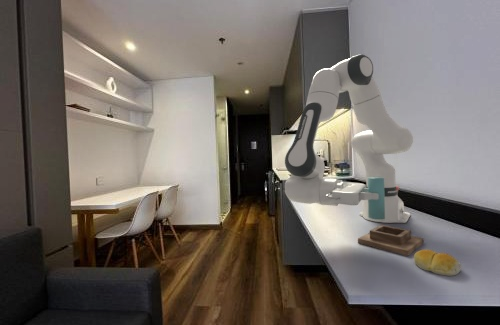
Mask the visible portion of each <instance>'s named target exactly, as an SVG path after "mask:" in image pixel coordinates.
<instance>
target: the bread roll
mask: <svg viewBox="0 0 500 325" xmlns="http://www.w3.org/2000/svg"><path fill="white" fill-rule="evenodd" d="M413 260H414V264H416V266H418V267H419V268H420V269H421V270H423V271H427V272H432V273H434V274H435V275H441V276H448V277H449V276H450V277H452V276H453V277H454V276H455V275H457V274H458V275H459V273H460V272H461V269H462V265H461V263H460V262H459V261H458V259H456V258H455V257H453V256H451V254H448V253H445V252H440V253H437V252H436V251H434V250H433V249H432V250H431V249H421V250H418V251H416V252H415V253H414V255H413Z"/></svg>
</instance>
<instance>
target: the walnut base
mask: <svg viewBox="0 0 500 325" xmlns="http://www.w3.org/2000/svg"><path fill="white" fill-rule="evenodd" d="M424 241H425V240H424V237H419V236H414V235H412V230H410V229H405V228H401V227H395V226H389V225H383V224H380V225H378V226H377V227H374V228H372V229H370V230H369V232H368V233H366V234H364V235H362V236H359V237H358V238H357V243H358V244H360V243H361V245H366V246H369V247H371V246H372V247H373V248H376V249H380V250H384V251H387V252H390V253H395V254H399V255H402V256H404V257H405V256H406V257H409V256H410V255H411V254H413V253H414V252H415V251H416V250H417V249H418V248H420V246H422V245H423V244H424Z"/></svg>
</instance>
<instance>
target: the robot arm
mask: <svg viewBox="0 0 500 325" xmlns="http://www.w3.org/2000/svg"><path fill="white" fill-rule="evenodd" d="M373 74H374V64H373V61H372V60H371V58H370V57H368V56H367V55H365V54H357V55H353V56H351V57H350V58H348V59H347V58H346V59H344V60H342V61H339V62H338V63H336V64H335V65H333V66H332V67H330V68H322V69H320V70H318V71H317V72H316V73H315V74H314V76H313V78H312V81H311V84H310V87H309V90H308V94H307V98H306V103H305V107H303V108H304V109H303V110H302V113H301V116H300V119H299V123H298V126H297V129H296V132H295V137H294V140H293V142H292V144H291V145H290V148H289V149H288V150H287V152H286V154H285V157H284V165H285V168H286V170H287V172H289V174H291V175H290V177H289V178H288V179H287V180H285V182H284V191H285V192H284V193H285V195H286V197H287V198H288V199H289V200H290V201H292V202H295V203H300V204H308V205H310V204H317V205H321V206H330V207H331V206H333V207H334V206H335V207H338V205H345V206H357V205H359V204H360V203H361V201H362V209H361V210H362V211H360V212H359V216H360V217H363V219H365V220H367V221H372V222H376V223H386V224H387V223H391V224H392V223H394V224H395V223H398V224H399V223H401V224H403V223H407V222H408V220H409V219H410V216H411V213H410V212H406V211H405V204H404V201H403V200H402V199H401V198H400V197H399V196H398V195H399V194H398V193H399V191H400V190H399V189H400V187H399V185H397V186H396V170H395V169H396V168H395V167H394V166H393V165H392V164H391V163H388V162H387V160H386V159H385V157H384V156H385V155H397V154H400V153H404V152H407V151H409V150H410V148H411V147H412V146H413V143H414V136H413V134H412V132H411V130H409V129H408V128H406V127H404V126H402V125H401V124H399V123H398V122H396V121H395V120H394V119H393V118H392V116H390V114H389V113H388V112H387V109H386V106H385V103H384V101H383V98H382V96H381V92H380V89H379V87H378V85H377V82H376V80H375V78H374V77H373ZM344 92H348V95H349V99H350V102H351V105H352V109H353V112H354V115H355V118H356V120H357V122H358V123H360V124H362V125H363V126H365V127H367V128H368V129H369V130H364V131H361V132H358V133H356V134H355V135H354V136H353V137H352V139H351V148H352V149H353V151H354V152H355V153H356V154H357V155H358V156H359V157H360V159H361V160H362V163H363V165H364V169H365V179H366V180H365V182H366V184H364V183H360V182H351V181H343V180H342V179H338V178H324V176H325V175H324V173H325V170H326V167H325V166H326V165H325V162H324V160H323V159H322V158H321V156H319V155H318V154H316V152H315V148H314V144H315V139H316V137H317V132H318V129H319V125H320V123H324V122H327V121H329V120H331V119H332V118H333V117H334V115H335V114H336V111H337V108H338V103H339V98H340V94H341V93H344ZM369 177H382V178H384V195H385V219H371V218H369V217H368V200H371V199H375V200H377V199H379V193H368V178H369Z"/></svg>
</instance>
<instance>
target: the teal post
mask: <svg viewBox="0 0 500 325" xmlns="http://www.w3.org/2000/svg"><path fill="white" fill-rule="evenodd" d="M368 193H379V199H377V200H375V199H371V200H368V217H369V218H371V219H385V195H384V178H382V177H369V178H368Z"/></svg>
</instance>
